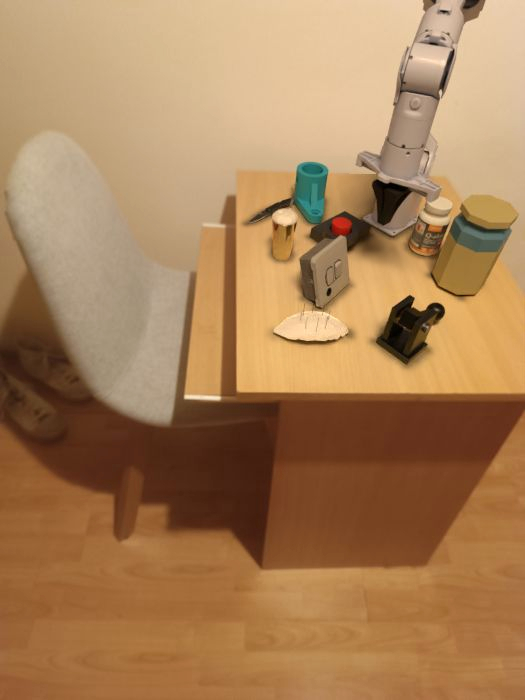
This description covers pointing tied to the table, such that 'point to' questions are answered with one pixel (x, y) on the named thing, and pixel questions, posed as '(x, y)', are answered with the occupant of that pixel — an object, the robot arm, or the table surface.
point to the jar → (474, 244)
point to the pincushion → (311, 326)
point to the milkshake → (283, 232)
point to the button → (341, 226)
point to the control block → (356, 234)
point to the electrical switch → (325, 270)
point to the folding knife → (271, 209)
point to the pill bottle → (431, 227)
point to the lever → (420, 314)
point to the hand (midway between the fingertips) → (383, 222)
